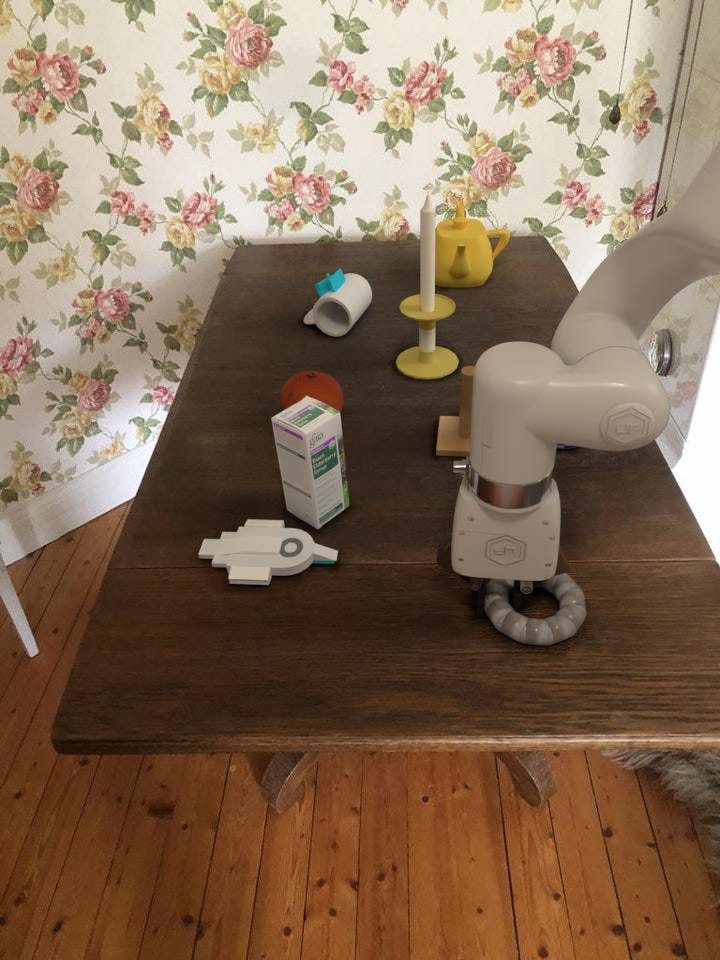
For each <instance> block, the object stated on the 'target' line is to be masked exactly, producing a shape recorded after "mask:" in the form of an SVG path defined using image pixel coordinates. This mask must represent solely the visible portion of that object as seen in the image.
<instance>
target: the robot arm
mask: <svg viewBox="0 0 720 960" xmlns="http://www.w3.org/2000/svg"><path fill="white" fill-rule="evenodd" d="M717 275H720V140H718V142H717V143H716V145H715V146H714V148H713V150H712V151H711V152H710V154H709V155H708V157H706V159H705V161H704V163H702V165H701V166H700V168H699V169H698V171H697V172H696V173H695V175H694V177H693V178H692V179H691V181H690V182H689V183H688V185H687V186H686V188H684V190H683V192H682V193H681V195H680V196H679V197H678V198H677V200H676V201H675V202H674V204H673V205H672V206H671V207H670V208H669V209H668V210H667V211H665V212H664V213H662V214H661V215H660V216H657V217H656V218H655V219H653V220H651V221H650V222H648V223H647V224H646V225H644V226H643V227H642V228H641V229H639V230H638V231H636V232H635V233H634V234H632V235H631V236H630V237H629V238H628V239H626V240H625V241H623V242H622V243H621V244H620V245H618V246H617V247H616V248H614V249H613V251H611V252H610V253H609V254H608V255H607V256H606V257H605V258H604V259H603V260H602V261H601V262H600V263H599V264H598V265H597V266H596V268H594V270H593V272H592V273H591V274H590V276H589V277H588V278H587V280H586V281H585V283H584V284H583V286H582V287H581V289H580V290H579V292H578V293H577V295H576V296H575V298H574V299H573V301H572V303H571V304H570V306H569V307H568V308H567V310H566V312H565V313H564V315H563V317H562V318H561V320H560V322H559V324H558V326H557V328H556V329H555V332H554V335H553V337H552V340H551V344H550V348H549V347H547V346H545V345H542V344H540V343H536V342H530V341H507V342H503V343H498V344H496V345H494V346H491V347H490V348H488V349H486V350H485V351H484V352H483V353H482V354H481V355H480V356H479V358H478V359H477V361H476V363H475V365H474V366H475V368H474V376H473V393H472V414H471V436H470V457H465V458H466V459H461V460H453V465H452V467H453V468H452V476H460V477H461V478H462V480H461V483H460V486H459V489H458V493H457V497H456V502H455V507H454V514H453V520H452V521H453V522H452V531H451V535H450V536H449V538H448V539H447V540H446V541H445V542H444V543H443V544H442V546H440V548H439V550H438V551H437V553H436V564H437V565H439V566H441V567H443V568H445V569H448V570H449V571H454V573H455V574H456V575H457V576H458V577H460V578H461V579H462V580H463V581H465V582H466V583H467V584H468V587H469V589H470V591H471V592H470V605H474V606H476V617H478V618H482V617H483V616H484V615H485V610H484V605H485V588H486V585H487V584H486V582H487V581H486V580H487V579H492V578H494V579H508V580H514V585H513V593H512V594H511V595H512V596H511V607H512V608H513V609H514V611H515V612H517V613H519V614H521V609H527V608H528V601H529V594H532V593H533V590H534V588H536V587H535V586H537V585H539V584H540V583H542V582H544V581H546V580H548V579H550V578H552V577H554V576H558V575H561V574H565V573H566V574H568V573H569V572H570V571H571V569H570V568H571V567H570V560H569V558H568V556H567V554H566V553H565V552H564V550H563V548H562V547H561V545H560V538H561V523H562V522H561V517H562V516H561V515H562V512H561V510H562V509H561V498H560V492H559V489H558V484H557V482H556V480H555V479H554V469H555V462H556V455H557V449H558V448H557V443H560V444H566V445H572V446H578V447H580V448H584V449H592V450H597V451H606V452H623V451H624V452H625V451H632V450H636V449H638V448H642V447H645V446H647V445H649V444H651V443H652V442H654V441H655V440H656V439H657V438H659V437H660V436H661V435H662V433H663V432H664V431H665V429H666V428H667V425H668V423H669V420H670V416H671V403H670V398H669V396H668V391H667V390H666V388H665V386H664V384H663V383H662V381H661V378H660V377H659V376H658V374H657V372H656V370H655V368H654V367H653V365H652V363H651V361H650V360H649V358H648V356H647V355H646V353H645V352H644V349H643V348H642V346H641V344H640V343H639V341H640V338H641V337H642V336H643V334H644V333H645V332H646V330H647V329H648V327H649V326H650V325H651V323H652V322H653V321H654V319H655V318H656V317H657V315H658V314H659V313H660V311H662V309H663V308H664V307H665V306H666V305H667V304H668V303H669V302H670V301H671V300H672V299H673V298H674V297H675V296H676V295H677V294H679V293H680V292H681V291H682V290H684V289H685V288H687V287H688V286H689V285H692V284H694V283H696V282H697V281H700V280H702V279H705V278H708V277H712V276H717Z"/></svg>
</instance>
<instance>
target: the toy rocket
mask: <svg viewBox="0 0 720 960" xmlns="http://www.w3.org/2000/svg"><path fill="white" fill-rule="evenodd" d="M285 525H286V524H285V520H283V519H281V520H280V519H253V518H251V519H249V518H248V519H247V520H246V521H245V523H244V526H238V528H237V530H236V531H222V533H221V534H220V538H203V540H202V543H201V547H200V548H199V552H198V558H199V559H205V560H207V559H212V560H211V566H212V568H226V571H227V574H228V578H227V579H228V581H229V584H231V585H232V584H234V585H257V586H258V585H260V586H269V585H270V583H271V580H272V579H273V576H280V577H281V576H284V577H285V576H293V575H296V574H299V573H302V572H303V571H305V570H307V569H309V567H310V566H311V565H312V564H323V565H324V564H325V565H329V564H330V565H335V562H337V559H338V553H339V550H338V549H337V550H336V549H334V548H330V547H328V546H325V545H323V544H318V543H316V542H315V540H314V538H313V537H312V535H310V534H309V533H308V532H307V531H304V530H303V529H300V528H293V527H285Z"/></svg>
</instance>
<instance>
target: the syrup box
mask: <svg viewBox="0 0 720 960" xmlns="http://www.w3.org/2000/svg"><path fill="white" fill-rule="evenodd" d="M270 419H271V426H272V431H273V437H274V438H273V439H274V443H275V449H276V454H277V460H278V461H277V462H278V465H279V473H280V477H281V483H282V489H283V494H284V501H285V505H286V510H287V511H288V512H289V513H291V514H292V515H293V516H295V517H297V518H298V519H300V520H301V521H303V522H305V523H306V524H308V525H310V526H311V527H313V528H315V529H316V530H320V529H321V528H322V527H323V526H324V525H325V524H326V523H328V522H330V521H331V520H332V519H334V518H335V517H336V516H338V515H339V514H340V513H342V512H343V511H344V510H346V509H347V508H349V507H350V498H349V488H348V486H349V485H348V477H347V466H346V455H345V448H344V447H345V446H344V438H343V428H342V427H343V426H342V417H341V412H339V411H337V410H336V409H334V408H332V407H330V406H329V405H327V404H325V403H323V402H321V401H318V400H316V399H313V398H310V397H308V396H306V397H305V398H303V399H302V400H301V401H299V402H298V403H296V404H294V405H292V406H290V407H289V408H287V409H285V410H284V411H283V410H282V411H280V412H278V413H277V414H275V415H274V416H272V417H271V418H270Z"/></svg>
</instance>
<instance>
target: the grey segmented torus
mask: <svg viewBox="0 0 720 960" xmlns="http://www.w3.org/2000/svg"><path fill="white" fill-rule="evenodd" d="M513 585H514V580H508V579H494V578H490V580H489V581H488V582H487V584H486V588H485V605H484V614H486V616H487V617H488V619H489V620H490V622H491V623H492V625H493V626H494V628H495V629H496V630H497V631H498V632H499V633H500V634H502V635H504V636H507V637H508V638H510V639H512V640H514V641H516V642H518V643H519V644H524V645H533V646H545V647H546V646H547V647H549V646H553V645H555V644H558V643H560V642H563V641H565V640H568V639H570V638H572V637H573V636H575V635H576V633H577V632H578V630H579V629H580V627H581V626H582V624H583V623H584V622H585V620H586V618H587V606H586V598H585V593H584V591H583V589H581V587H580V586H579V585H578V584H577V582H575V580H574V579H573V578H572V577H571V575H569V574H568V573H565V574H561V575H558V576H554V577H552V578H550V579H548V580H546V581H544V582H542V583H540V584H539V585H537V586H535V587H534V588H535V589H537V588H538V589H542V590H544V591H546V592H548V593H550V594H552V595H553V596H554V598H555V599H556V600H557V601H558V602H559V603H558V604H559V609H558V611H557V612H556V613H555V614H554V615H551V616H548V617H545V618H533V617H527V616H525V615H523V614H521V613H520V614H519V613H517V612H515V611H514V609H513V608H512V604H510V597H511V595H512V594H513Z"/></svg>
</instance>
